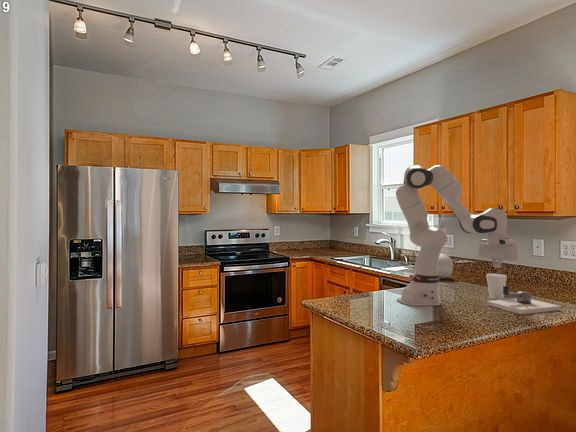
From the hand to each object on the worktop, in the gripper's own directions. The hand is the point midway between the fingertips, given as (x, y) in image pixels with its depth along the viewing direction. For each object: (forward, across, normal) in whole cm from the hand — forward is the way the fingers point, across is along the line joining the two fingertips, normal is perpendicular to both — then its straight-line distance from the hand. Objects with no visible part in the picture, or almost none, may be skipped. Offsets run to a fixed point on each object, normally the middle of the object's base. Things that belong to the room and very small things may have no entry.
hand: (496, 267), depth 183 cm
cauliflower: (+20, -77, +27) cm, 84 cm away
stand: (+19, +6, +10) cm, 23 cm away
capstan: (+17, +5, +6) cm, 19 cm away
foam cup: (+20, -12, +12) cm, 26 cm away
